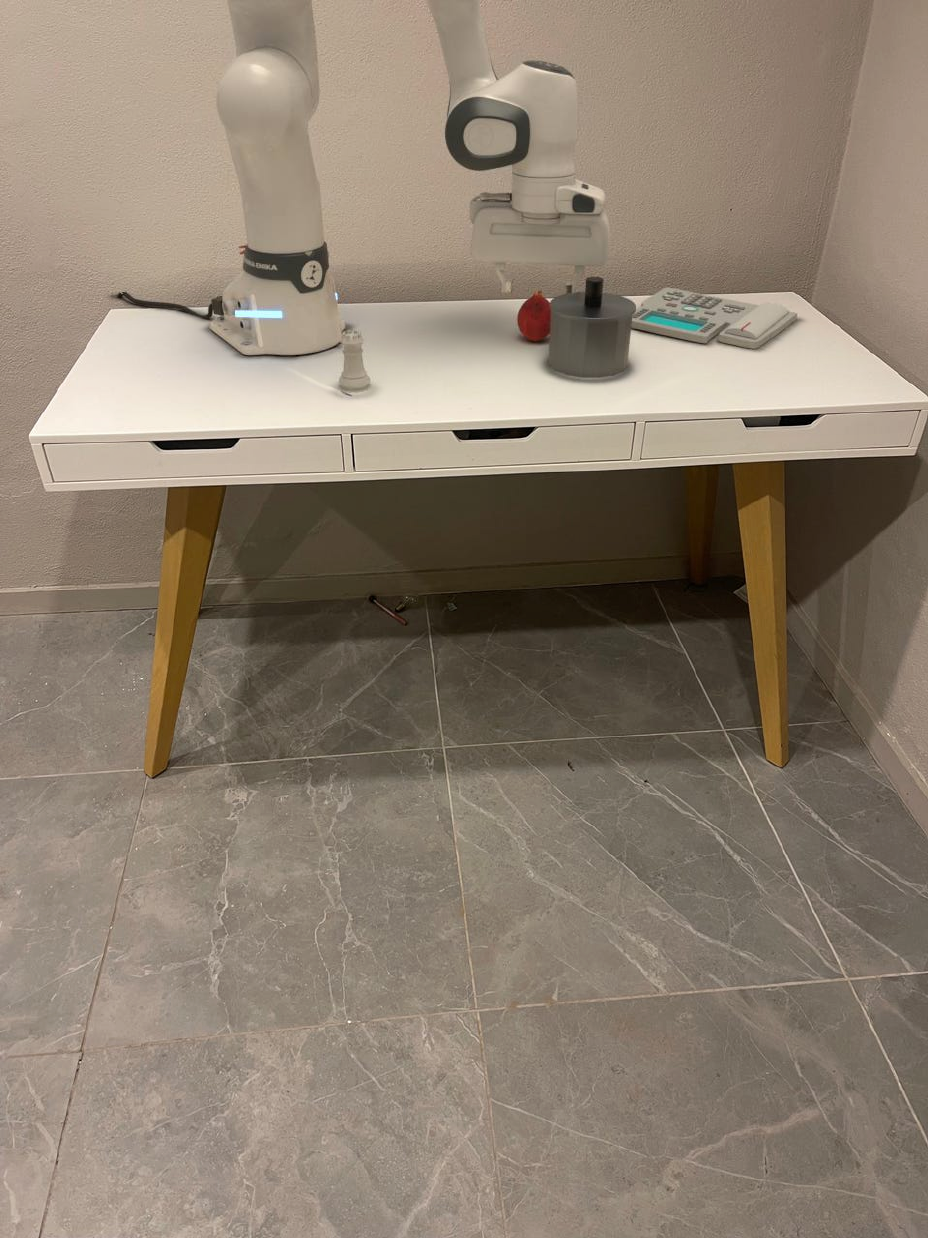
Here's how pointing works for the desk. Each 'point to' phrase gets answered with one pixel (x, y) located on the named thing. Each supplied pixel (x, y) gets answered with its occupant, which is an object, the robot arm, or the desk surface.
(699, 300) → the office telephone
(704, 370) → the desk surface
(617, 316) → the lid
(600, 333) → the pot
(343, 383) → the rook chess piece
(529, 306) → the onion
